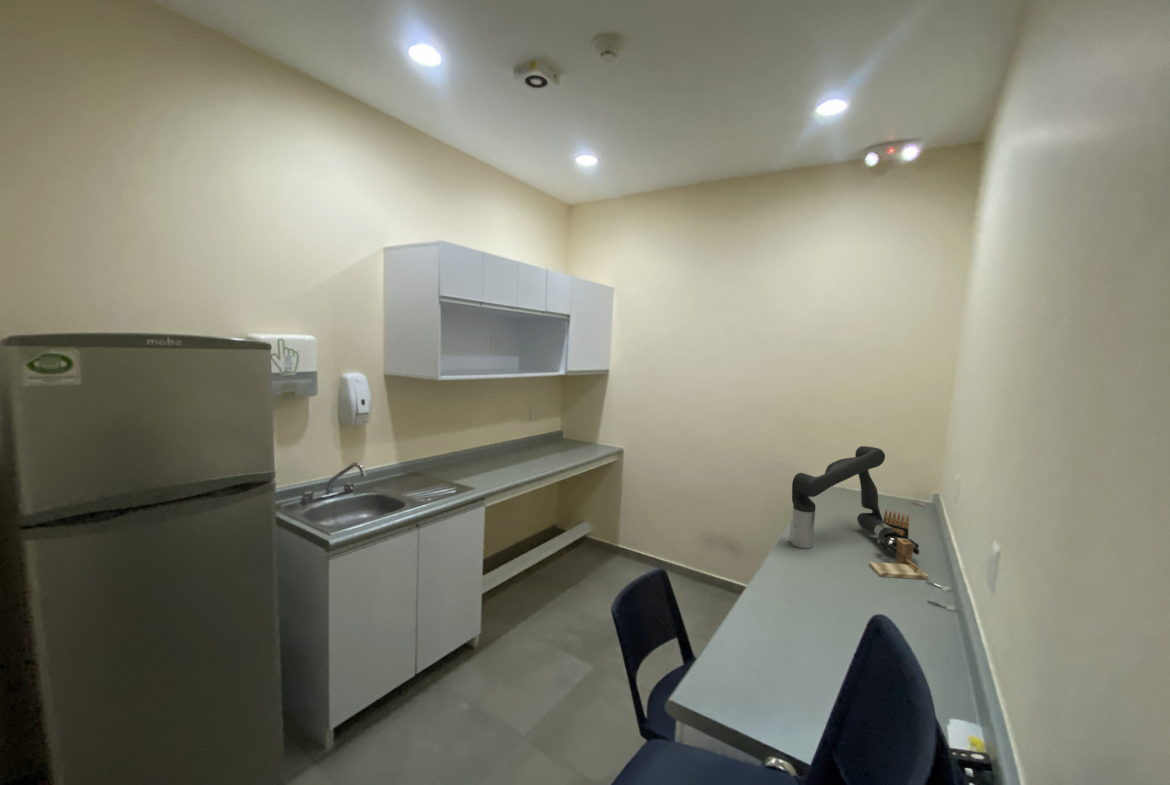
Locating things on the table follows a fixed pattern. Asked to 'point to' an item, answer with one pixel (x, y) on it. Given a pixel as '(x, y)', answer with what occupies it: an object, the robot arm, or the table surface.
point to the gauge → (904, 552)
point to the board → (897, 570)
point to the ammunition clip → (898, 523)
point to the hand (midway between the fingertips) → (906, 551)
